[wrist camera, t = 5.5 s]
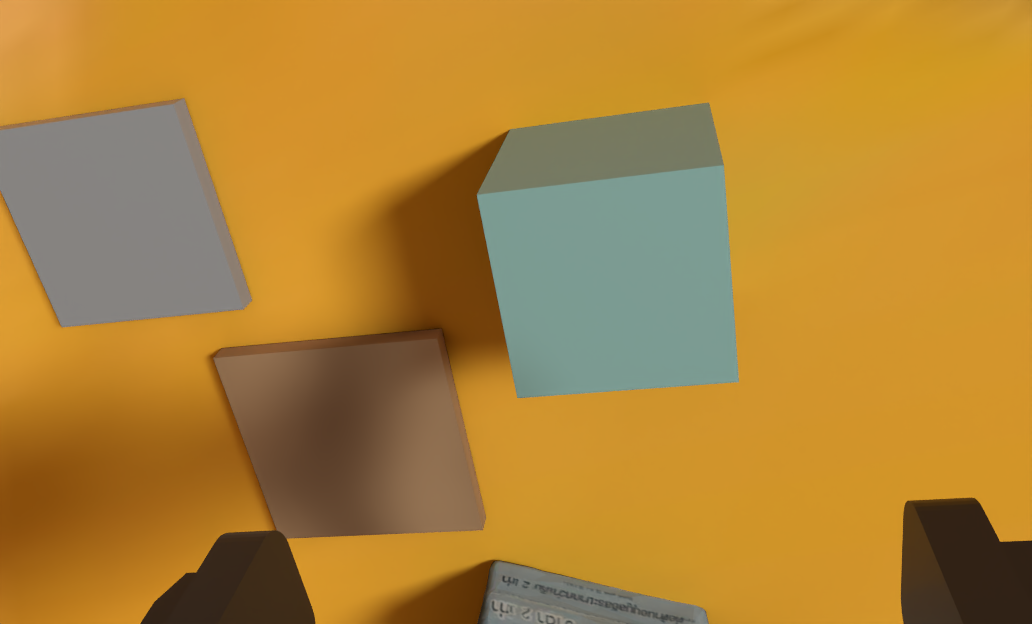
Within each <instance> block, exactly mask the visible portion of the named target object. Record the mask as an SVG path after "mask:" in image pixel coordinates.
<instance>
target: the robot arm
mask: <svg viewBox="0 0 1032 624" xmlns="http://www.w3.org/2000/svg"><path fill="white" fill-rule="evenodd" d="M901 606H902V615H903V622H904V624H1032V541H1012V542H1000V541H999V539H998V537H997V535H996V533H995V531H994V529H993V527H992V525H991V523H990V522H989V520H988V518H987V516H986V514H985V512H984V510H983V508H982V506H981V505H980V503H979V502H978V501H977V500H976V499H975V498H955V499H935V500H915V501H907V502H906V504H905V507H904V516H903V546H902V577H901ZM141 624H315V617H314V613H313V609H312V606H311V604H310V601H309V598H308V596H307V593H306V590H305V587H304V585H303V582H302V579H301V577H300V574H299V571H298V568H297V566H296V563H295V560H294V558H293V555H292V552H291V549H290V547H289V544H288V542H287V539H286V538H285V536H284V535H283V534H282V533H281V532H279V531H276V530H274V531H254V532H234V533H225V534H223V535H221V536H220V537H219V538H218V539H217V541H216V542H215V543H214V545H213V547H212V548H211V550H210V551H209V553H208V555H207V556H206V558H205V560H204V561H203V563H202V564H201V566H200V568H199V569H198V571H197V573H186V574H185V575H184V576H183V577H182V578H181V579H179V580H178V581H177V582H176V583H175V584H174V585H173V586H172V587H171V588H169V589H168V590H167V591H166V592H165V593H164V594H163V595H162V596H161V597H159V598H158V599H157V600H156V601H155V602H154V604H153V605H152V607H151V608H150V610H149V611H148V613H147V614H146V616H145V617H144V619H143V620H142V622H141Z"/></svg>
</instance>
